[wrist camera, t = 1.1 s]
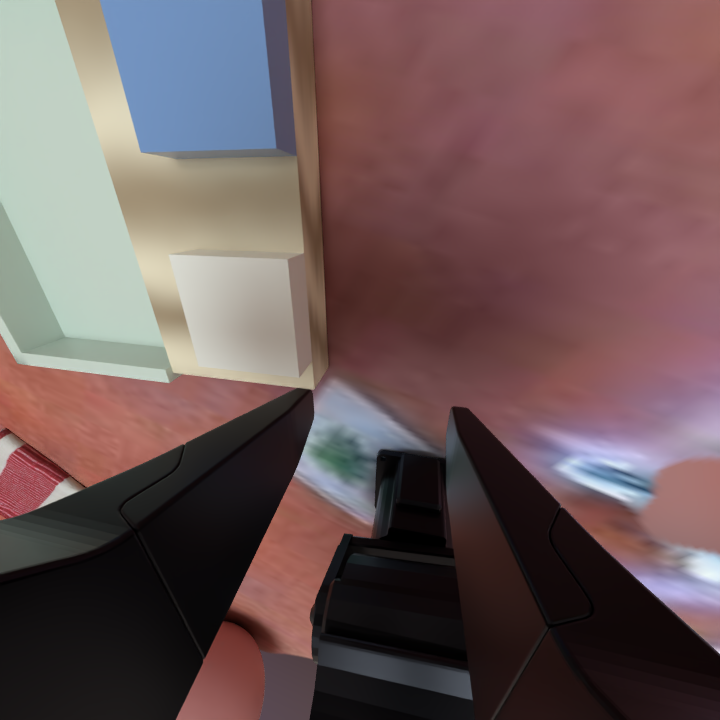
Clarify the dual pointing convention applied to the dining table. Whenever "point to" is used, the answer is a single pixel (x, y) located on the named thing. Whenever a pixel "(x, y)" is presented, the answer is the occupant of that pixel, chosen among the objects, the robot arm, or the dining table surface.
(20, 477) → the dish towel
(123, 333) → the tray
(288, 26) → the beige flat block
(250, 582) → the dining table surface
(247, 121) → the blue tile
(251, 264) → the white tile
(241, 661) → the balloon
